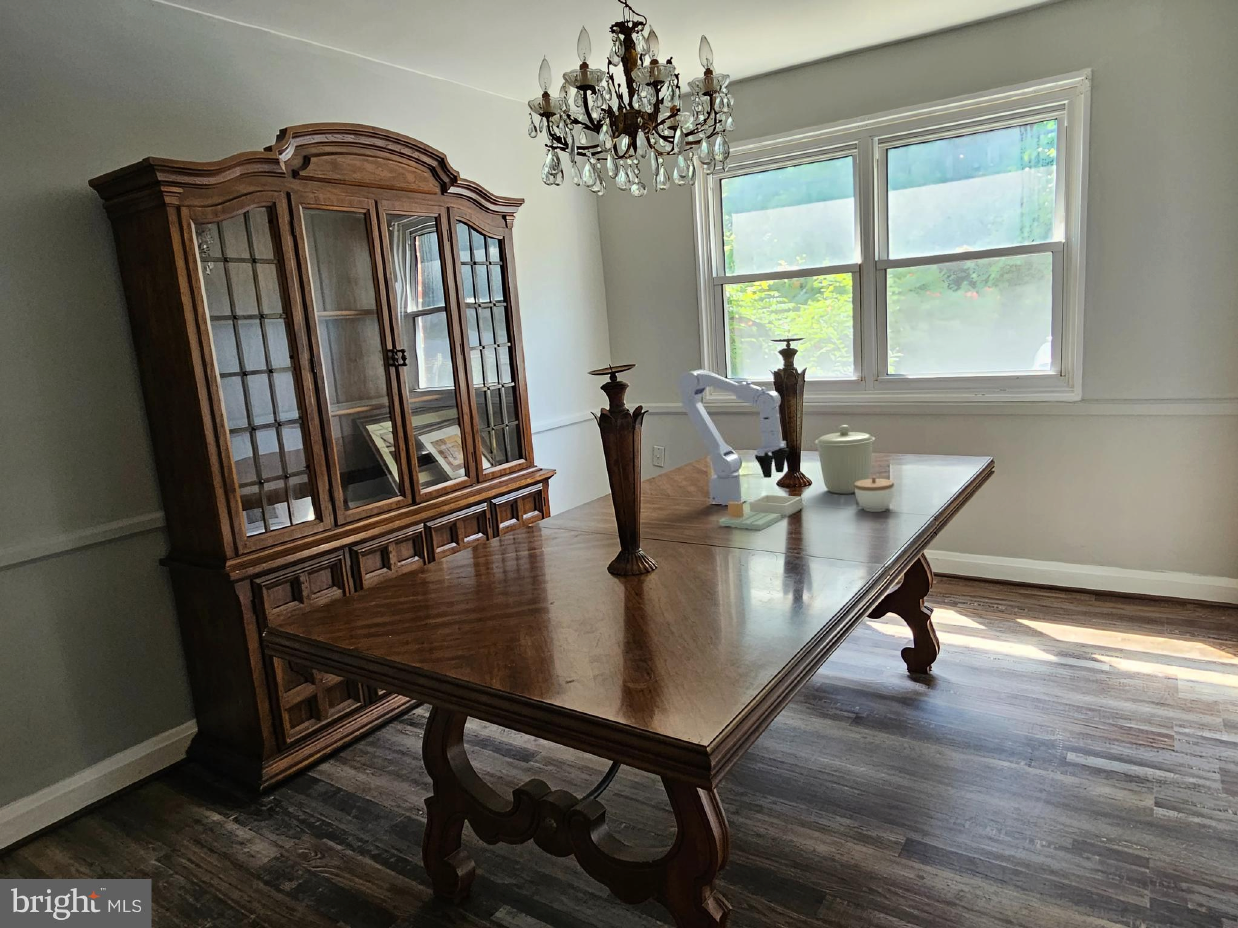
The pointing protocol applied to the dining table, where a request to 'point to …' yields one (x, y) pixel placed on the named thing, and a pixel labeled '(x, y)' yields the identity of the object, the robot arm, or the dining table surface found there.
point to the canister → (845, 459)
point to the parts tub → (776, 504)
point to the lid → (747, 518)
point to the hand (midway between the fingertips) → (773, 474)
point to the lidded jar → (874, 494)
